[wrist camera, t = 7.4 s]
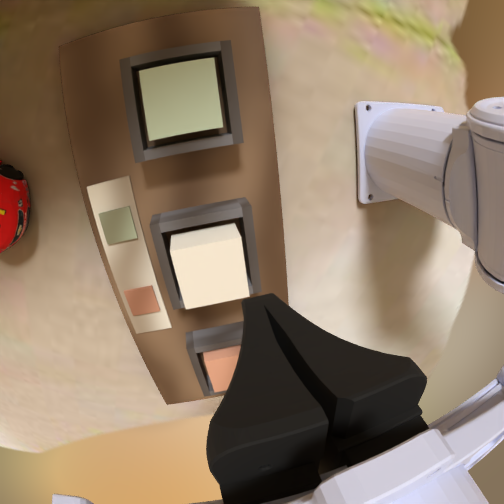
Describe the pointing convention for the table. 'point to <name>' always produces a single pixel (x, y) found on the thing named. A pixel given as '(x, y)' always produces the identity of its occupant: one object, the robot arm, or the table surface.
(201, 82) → the sage key
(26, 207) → the race car
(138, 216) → the keypad
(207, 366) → the terracotta key
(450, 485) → the robot arm
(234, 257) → the cream key
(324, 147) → the table surface
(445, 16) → the table surface
